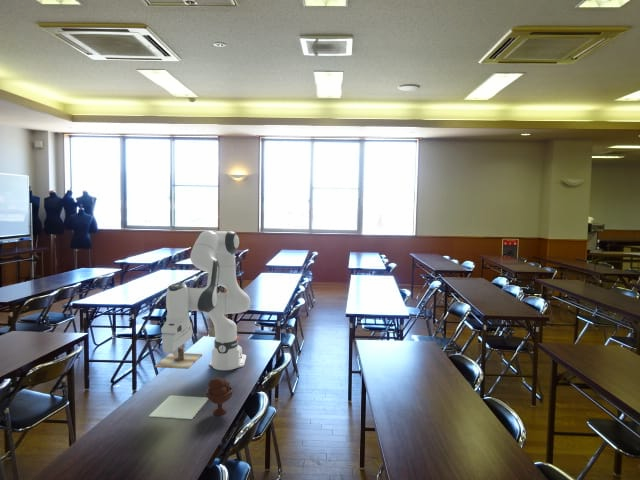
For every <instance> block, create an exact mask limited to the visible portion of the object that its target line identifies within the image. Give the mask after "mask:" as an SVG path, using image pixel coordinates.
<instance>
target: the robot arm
mask: <svg viewBox="0 0 640 480" xmlns="http://www.w3.org/2000/svg"><path fill="white" fill-rule="evenodd" d="M239 246H240V237H239V235H238V233H237V232H235V231H232V230H230V231H229V230H228V231H224V230H223V231H222V230H217V231H212V230H204V231H202V232H201V233H199V234H197V236H196V238H195V242H194V244H193V246H192V249H191V252H190V255H189V256H190V261H191V263H192V264H193V266H194V267H195V268H197V269H199V270H201V271H203V272H205V273H207V282H206V286H204V287H202V288H201V287H188V286H187V284H186V283H183V282H176V283H172V284H169V286H168V287H167V289H166V296H165V297H166V298H165V305H166V306H165V308H166V310H167V313H166V321H165V322H164V324H163V325H162V327H161V328H160V330H161V331H160V332H161V334H162V335H161V336H162V337H161V342H162V346H161V347H162V351H163V352H164V354H165V353H166V354H170V353H173V356H174V358H178V357H179V353H178V351H177V350H178V349H183V350H184V353H186V352H185V351H186V350H185V348H186V346H187V345H186V344H187V342H188V341H189V340H191V338H192V337H193V325H192V324H193V323H192V321H191V319H190V313H189V311H195V312H196V311H197V312H202V314H204V315H206V316H207V317H208V318H210V320H211V322H212V324H213V326H214V337H215V338H214V342H213V345H214V348H213V349H212V350H211V361H210V362H209V366H211V367H212V368H213V369H215V370H217V371H232V370H234V369H238V368H243V367H244V366H245V363H246V359H247V355H246V354H244V353H243V348H242V347H241V345H239V339H240V337H239V335H238V332H237V331H238V330H237V328H238V326H237V324H236V322H235V321H234V320H232V319H229V318H227V317H226V316H225V315H226V314H227V315H228V314H241V313H245V312H247V311H248V310H249V308H250V307H251V304H252V303H251V298H250V296H249V294H248V293H247V292H245V291H244V290H243V289H242V288H241V287H240V285H239V283H238V280H237V274H236V273H237V270H236V269H237V267H236V256H235V252H236V251H237V250H238V248H239ZM218 286H221V287H223V288H225V290H226V292H218V290H219V289H218V288H219V287H218ZM237 335H238V336H237Z"/></svg>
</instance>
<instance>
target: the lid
mask: <svg viewBox="0 0 640 480" xmlns="http://www.w3.org/2000/svg"><path fill="white" fill-rule="evenodd" d="M177 351H178V353H179V357H178V358H174V356H173V353H168V355H166V356H165V357H163V358H162V359H161V360H159V361H158V362H157V363H156V364H155V365H154V368H160V369H161V368H163V369H177V370H179V369H180V370H181V369H183V370H189V369H190V368H191V367H192V366H193V365H194V364H195V363H196V362H198V361H199V359H200V358H202V357H203V354H202V353H187V352H184V351H185V349H184V350H183V349H180V348H178V350H177Z"/></svg>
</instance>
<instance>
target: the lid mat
mask: <svg viewBox="0 0 640 480" xmlns="http://www.w3.org/2000/svg"><path fill="white" fill-rule="evenodd" d="M208 400H209V399H208V398H207V396H206V397H204V396H203V397H202V396H186V395H173V394H172V395H171V394H170V395H169V396H168V397H167V398H166V399H165V400H164V401H162V403H161V404H159V406H157V407H156V409H154V410H153V411H152V412H151V413H150V414H149V415H148V417H149V418H159V419H160V418H163V419H176V420H178V419H179V420H190V419H191V420H193V419H194V418H193V417H196V415H197V414H198V413H199V412H200V410H201V409H203V407H204V406H205V405H206V403H207V402H208ZM198 411H199V412H198Z"/></svg>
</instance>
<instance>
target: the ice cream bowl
mask: <svg viewBox="0 0 640 480" xmlns="http://www.w3.org/2000/svg"><path fill="white" fill-rule="evenodd" d="M230 384H231V383H230V382H229V381H228V380H226V379H225V378H221V377H220V376H218V377H217V376H216V377H212V379H210V380H209V381H208V388H206V390H205V396H206V398H208V400H209V401H210V402H212V403H213V404H216V405H217V407H216V409H214V410H213V415H214V416H224V415H225V414H227V411H228V410H227V409H226V408H224V407H223V404H224V403H226V402H227V401H229V400H231V398H232V395H233V391H234V387H233V386H231V385H230Z"/></svg>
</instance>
